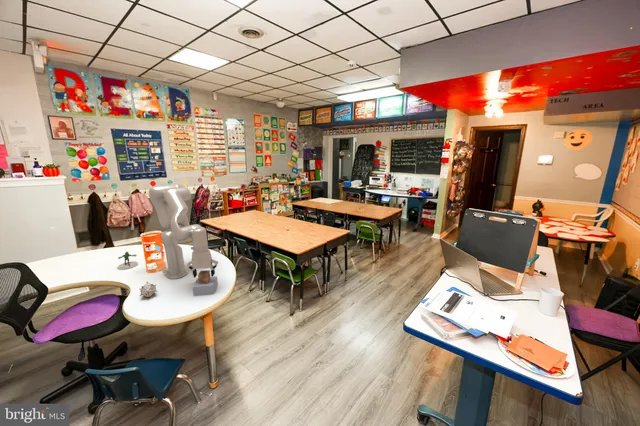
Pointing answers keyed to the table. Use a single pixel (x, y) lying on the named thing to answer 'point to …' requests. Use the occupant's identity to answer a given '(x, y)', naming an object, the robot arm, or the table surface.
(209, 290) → the slate base
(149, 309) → the table surface
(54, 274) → the table surface
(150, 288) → the game die
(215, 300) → the table surface
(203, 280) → the copper block
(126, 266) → the monster figurine
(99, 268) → the table surface
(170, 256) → the robot arm
